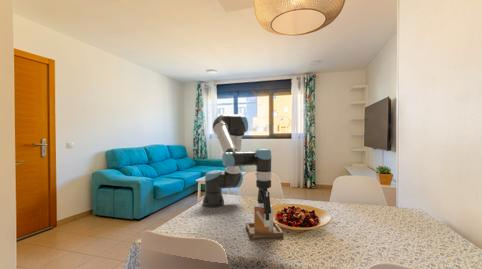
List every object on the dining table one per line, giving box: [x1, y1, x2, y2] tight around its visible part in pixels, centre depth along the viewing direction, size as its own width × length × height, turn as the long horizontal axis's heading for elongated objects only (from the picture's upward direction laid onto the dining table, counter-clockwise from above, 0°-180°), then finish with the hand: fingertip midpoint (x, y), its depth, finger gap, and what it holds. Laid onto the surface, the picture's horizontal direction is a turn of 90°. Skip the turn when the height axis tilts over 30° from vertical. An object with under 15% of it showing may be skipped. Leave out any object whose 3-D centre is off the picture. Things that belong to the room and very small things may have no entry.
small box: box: [253, 203, 274, 233], centre depth 117 cm, size 8×6×13 cm
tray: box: [245, 222, 284, 241], centre depth 118 cm, size 14×16×2 cm
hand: (263, 221), depth 118 cm, fingers open, 13 cm apart
